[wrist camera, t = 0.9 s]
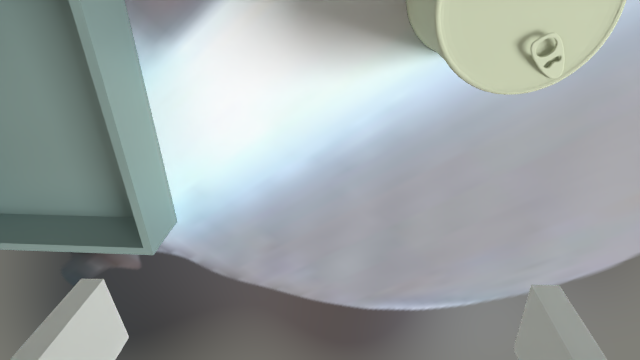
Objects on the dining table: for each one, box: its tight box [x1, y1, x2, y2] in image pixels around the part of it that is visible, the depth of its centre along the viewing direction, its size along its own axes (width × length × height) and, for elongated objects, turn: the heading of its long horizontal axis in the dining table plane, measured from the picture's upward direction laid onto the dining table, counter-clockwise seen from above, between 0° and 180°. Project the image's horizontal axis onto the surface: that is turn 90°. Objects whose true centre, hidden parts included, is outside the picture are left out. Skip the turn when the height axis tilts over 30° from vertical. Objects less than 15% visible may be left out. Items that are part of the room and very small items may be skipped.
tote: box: [0, 0, 177, 255], centre depth 34 cm, size 24×22×6 cm
